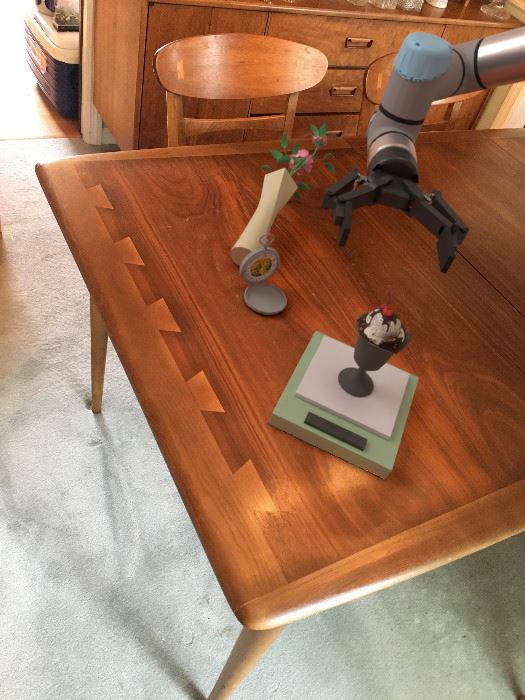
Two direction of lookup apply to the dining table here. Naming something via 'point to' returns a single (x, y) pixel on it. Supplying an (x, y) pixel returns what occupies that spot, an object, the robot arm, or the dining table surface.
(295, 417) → the scale
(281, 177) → the flower vase
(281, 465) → the dining table surface
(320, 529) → the dining table surface
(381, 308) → the sundae
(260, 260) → the pocket watch
